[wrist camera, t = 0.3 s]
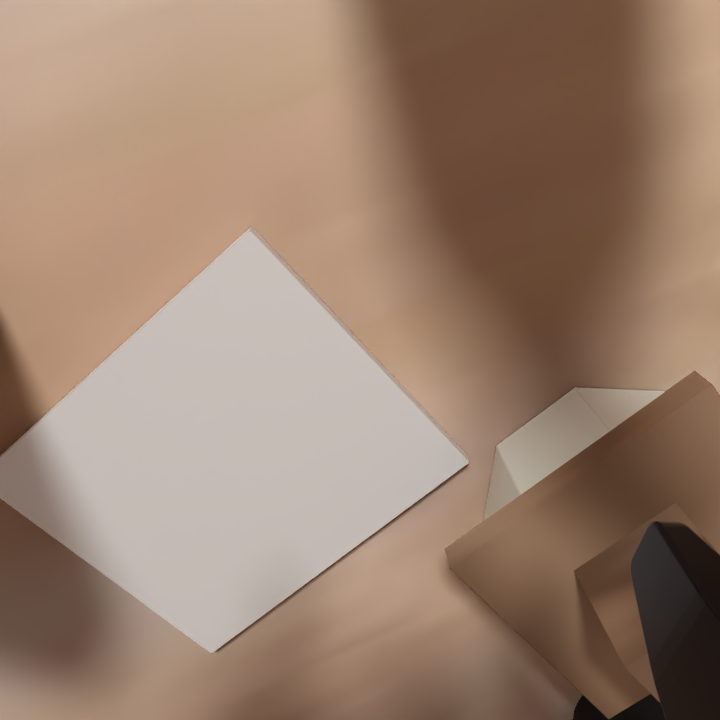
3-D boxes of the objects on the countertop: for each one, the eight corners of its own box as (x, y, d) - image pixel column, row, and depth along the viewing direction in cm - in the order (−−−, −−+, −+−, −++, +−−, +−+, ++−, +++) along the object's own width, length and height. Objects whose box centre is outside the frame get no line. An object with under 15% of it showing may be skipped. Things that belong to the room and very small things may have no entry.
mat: (213, 642, 29) (211, 653, 29) (-18, 471, 25) (-25, 480, 25) (466, 454, 26) (469, 462, 26) (251, 226, 22) (249, 230, 22)
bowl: (566, 609, 30) (602, 684, 26) (443, 484, 27) (464, 549, 23) (744, 492, 28) (809, 555, 24) (633, 343, 25) (689, 389, 21)
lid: (598, 696, 27) (658, 827, 22) (444, 548, 23) (477, 666, 19) (827, 556, 24) (945, 667, 20) (694, 370, 21) (801, 454, 16)
